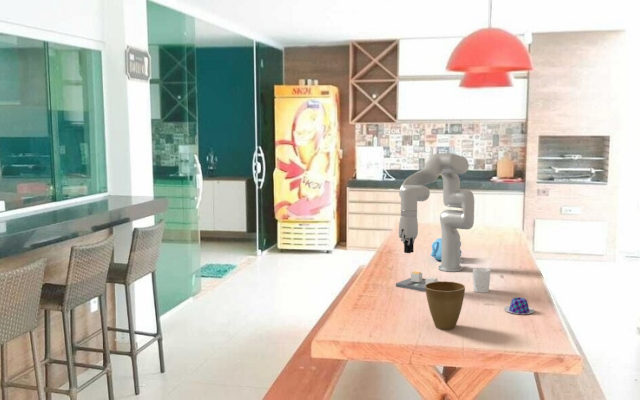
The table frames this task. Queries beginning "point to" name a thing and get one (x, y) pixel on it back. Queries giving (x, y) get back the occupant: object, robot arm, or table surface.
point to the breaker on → (430, 280)
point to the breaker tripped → (416, 276)
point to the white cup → (481, 279)
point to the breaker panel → (413, 284)
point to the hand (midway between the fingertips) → (408, 252)
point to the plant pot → (445, 303)
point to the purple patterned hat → (519, 306)
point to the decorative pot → (438, 249)
